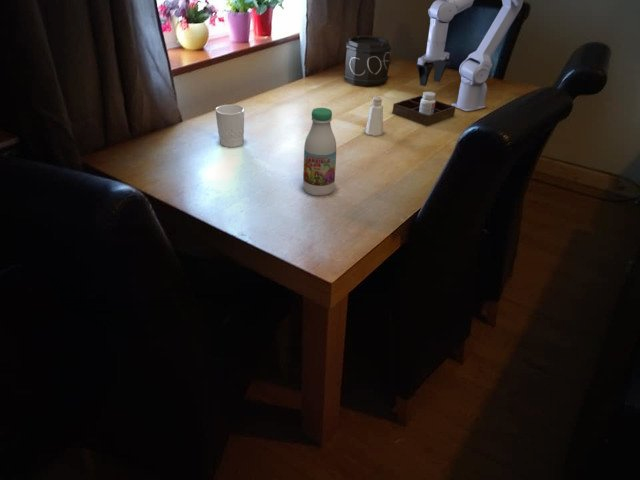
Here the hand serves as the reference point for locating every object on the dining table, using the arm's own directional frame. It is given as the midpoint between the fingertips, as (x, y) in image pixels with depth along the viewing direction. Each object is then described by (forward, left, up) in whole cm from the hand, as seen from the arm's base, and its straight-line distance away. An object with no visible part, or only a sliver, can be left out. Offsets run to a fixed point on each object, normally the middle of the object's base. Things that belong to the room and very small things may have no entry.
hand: (429, 83), depth 171 cm
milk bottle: (+64, +31, -10) cm, 72 cm away
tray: (+4, +3, -9) cm, 11 cm away
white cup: (+71, -5, -10) cm, 72 cm away
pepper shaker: (+29, +8, -10) cm, 32 cm away
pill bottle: (+7, +7, -9) cm, 13 cm away
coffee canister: (-2, -37, -10) cm, 38 cm away
